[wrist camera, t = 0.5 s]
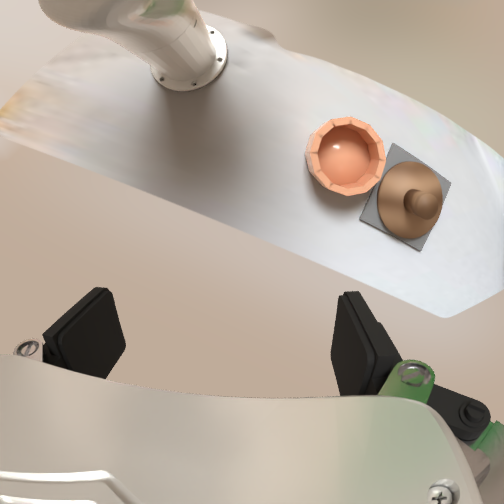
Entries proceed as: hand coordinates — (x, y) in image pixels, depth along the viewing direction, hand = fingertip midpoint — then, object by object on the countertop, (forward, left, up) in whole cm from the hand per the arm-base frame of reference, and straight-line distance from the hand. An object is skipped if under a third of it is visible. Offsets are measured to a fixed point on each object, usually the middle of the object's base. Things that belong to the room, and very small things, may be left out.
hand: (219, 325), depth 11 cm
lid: (+6, +25, -34) cm, 43 cm away
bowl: (-3, +14, -34) cm, 38 cm away
